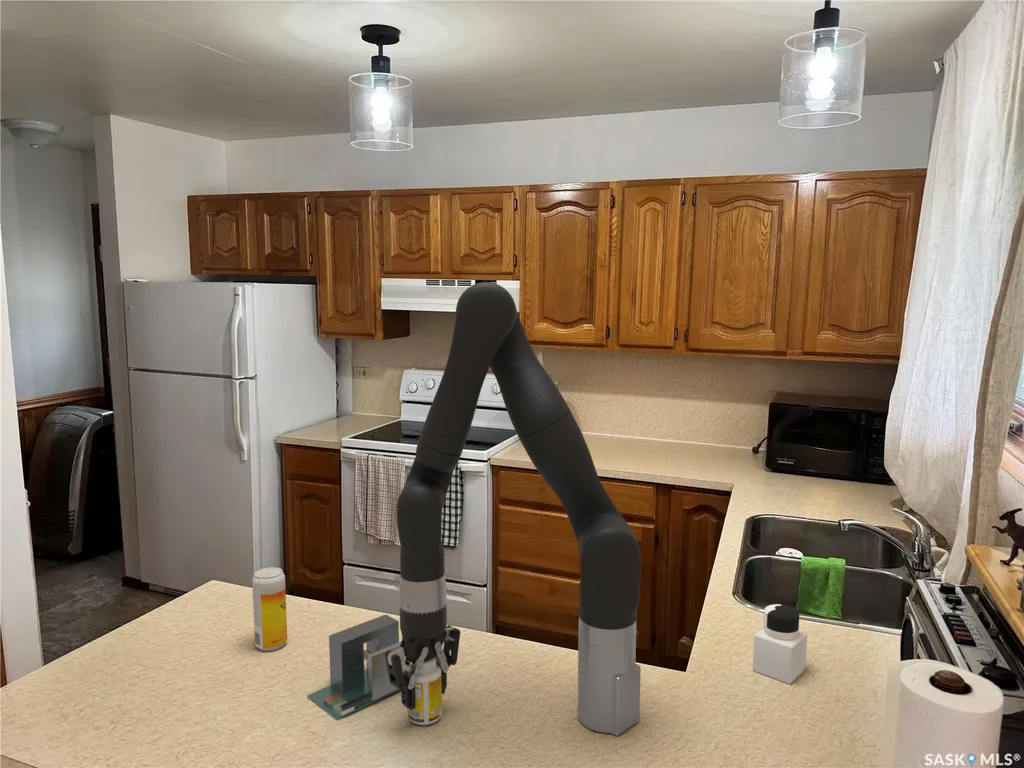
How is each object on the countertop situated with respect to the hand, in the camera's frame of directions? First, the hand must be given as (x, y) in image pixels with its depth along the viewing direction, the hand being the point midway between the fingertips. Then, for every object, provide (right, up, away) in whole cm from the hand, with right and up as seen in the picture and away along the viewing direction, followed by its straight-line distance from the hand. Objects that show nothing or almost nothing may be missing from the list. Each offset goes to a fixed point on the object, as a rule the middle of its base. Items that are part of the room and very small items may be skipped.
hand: (424, 699), depth 118 cm
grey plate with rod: (-11, -1, +7) cm, 14 cm away
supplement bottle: (0, -3, 0) cm, 3 cm away
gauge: (-11, -2, +9) cm, 15 cm away
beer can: (-33, 0, +25) cm, 42 cm away
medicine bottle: (+63, -2, +15) cm, 65 cm away
